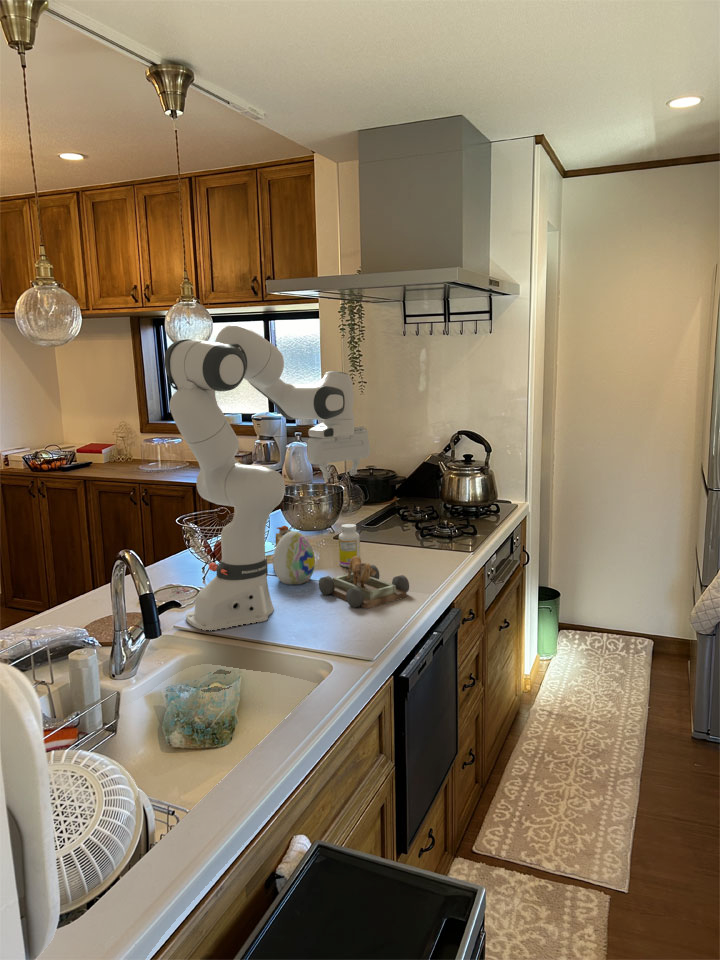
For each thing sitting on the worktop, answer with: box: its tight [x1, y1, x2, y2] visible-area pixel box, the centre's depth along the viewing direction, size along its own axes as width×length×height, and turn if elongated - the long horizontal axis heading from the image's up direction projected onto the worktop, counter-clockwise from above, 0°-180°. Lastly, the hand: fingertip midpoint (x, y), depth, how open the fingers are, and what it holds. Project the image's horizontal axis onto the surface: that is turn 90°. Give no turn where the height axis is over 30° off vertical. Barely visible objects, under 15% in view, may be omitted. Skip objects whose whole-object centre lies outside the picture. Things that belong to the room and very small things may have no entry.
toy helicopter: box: [272, 525, 292, 572], centre depth 230 cm, size 8×21×14 cm, turn 16°
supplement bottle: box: [338, 523, 361, 568], centre depth 228 cm, size 7×7×13 cm
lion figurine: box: [346, 556, 376, 589], centre depth 201 cm, size 15×5×9 cm, turn 23°
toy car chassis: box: [318, 564, 410, 610], centre depth 201 cm, size 18×20×5 cm
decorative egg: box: [272, 530, 316, 585], centre depth 213 cm, size 12×12×15 cm
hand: (340, 476), depth 208 cm, fingers open, 8 cm apart
